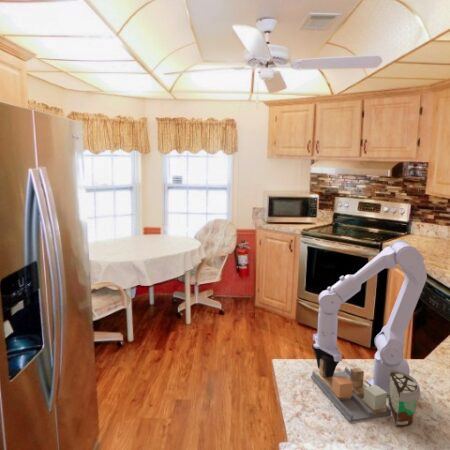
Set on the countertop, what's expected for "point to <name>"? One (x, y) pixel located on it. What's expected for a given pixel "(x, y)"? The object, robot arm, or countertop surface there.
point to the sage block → (375, 397)
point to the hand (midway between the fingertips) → (325, 372)
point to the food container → (402, 397)
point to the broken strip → (361, 387)
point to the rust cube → (342, 386)
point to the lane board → (349, 401)
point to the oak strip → (327, 379)
